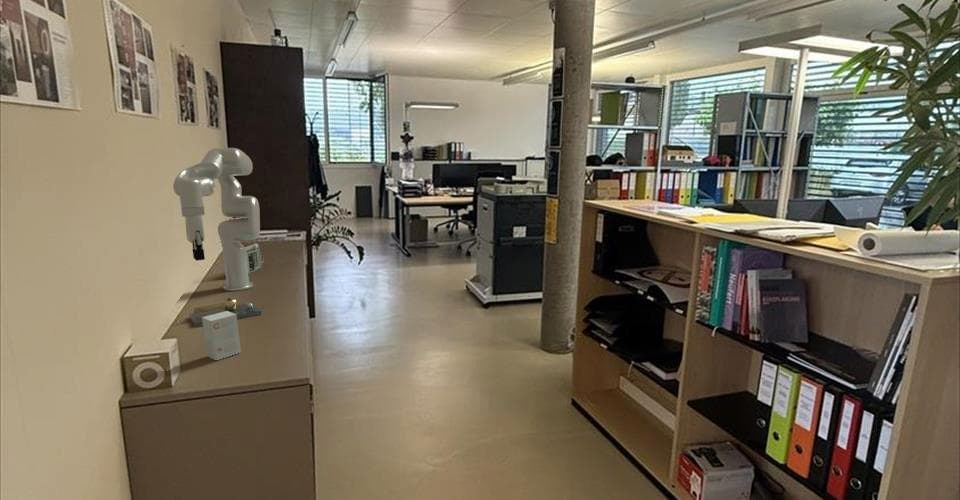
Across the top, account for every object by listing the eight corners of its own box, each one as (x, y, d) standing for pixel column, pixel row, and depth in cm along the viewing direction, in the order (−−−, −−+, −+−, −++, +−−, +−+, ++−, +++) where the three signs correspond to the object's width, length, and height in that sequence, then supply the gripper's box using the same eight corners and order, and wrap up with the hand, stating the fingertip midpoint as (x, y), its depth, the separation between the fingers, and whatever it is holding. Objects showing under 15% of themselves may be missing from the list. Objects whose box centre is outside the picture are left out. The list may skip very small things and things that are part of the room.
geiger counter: (237, 250, 261) (266, 241, 285) (225, 250, 262) (256, 241, 286) (240, 278, 264) (269, 266, 288) (228, 277, 265) (258, 266, 289)
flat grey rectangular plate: (189, 317, 203) (188, 307, 203) (252, 305, 217) (251, 296, 216) (195, 327, 192) (194, 316, 191) (261, 314, 205) (260, 304, 205)
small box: (232, 348, 171) (227, 310, 169) (241, 353, 167) (236, 314, 165) (206, 356, 165) (201, 316, 163) (215, 361, 161) (210, 321, 159)
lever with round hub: (193, 314, 201) (191, 303, 200) (235, 306, 210) (234, 296, 209) (194, 317, 198) (193, 306, 197) (238, 309, 207) (237, 298, 206)
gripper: (178, 210, 204) (185, 257, 208) (185, 214, 191) (191, 264, 195) (200, 208, 208) (206, 254, 212) (208, 212, 195) (214, 261, 199)
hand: (199, 258), depth 203 cm, fingers open, 3 cm apart
